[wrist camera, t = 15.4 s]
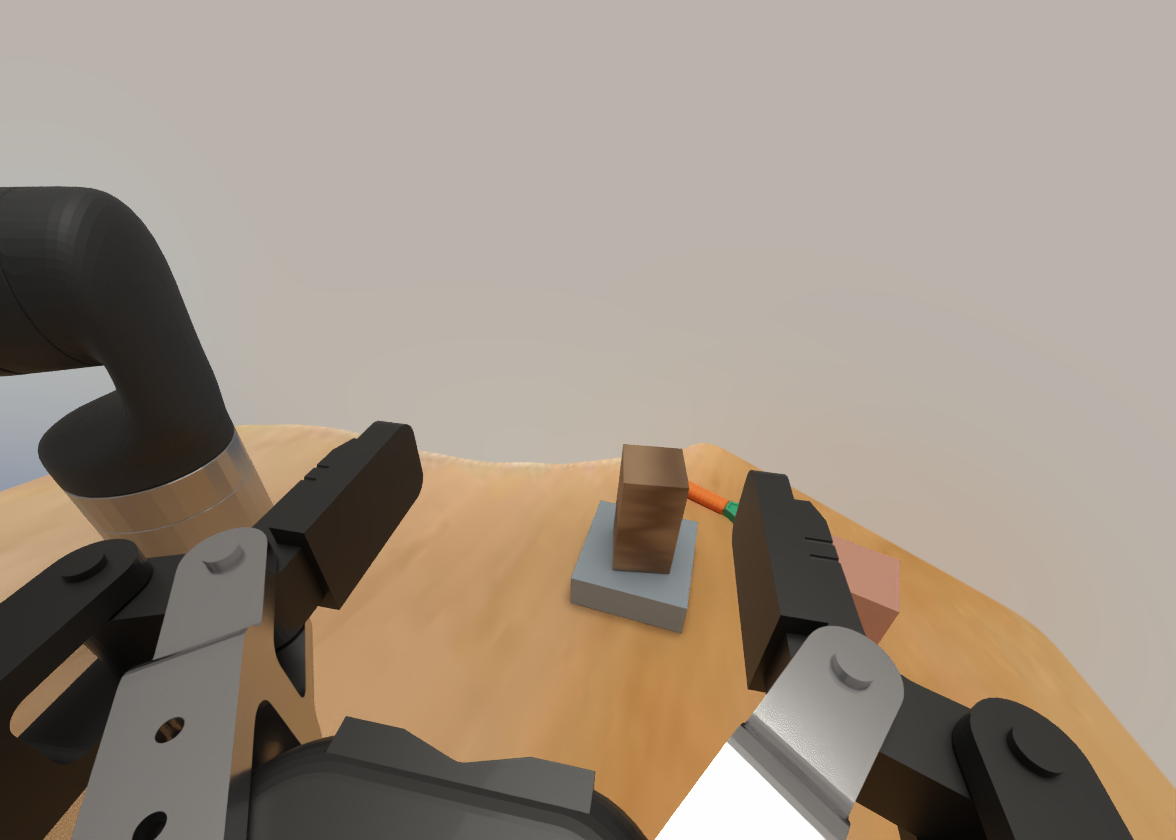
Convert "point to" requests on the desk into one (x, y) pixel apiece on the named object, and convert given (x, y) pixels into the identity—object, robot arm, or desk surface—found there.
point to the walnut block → (649, 508)
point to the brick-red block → (871, 586)
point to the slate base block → (633, 577)
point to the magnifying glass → (713, 501)
